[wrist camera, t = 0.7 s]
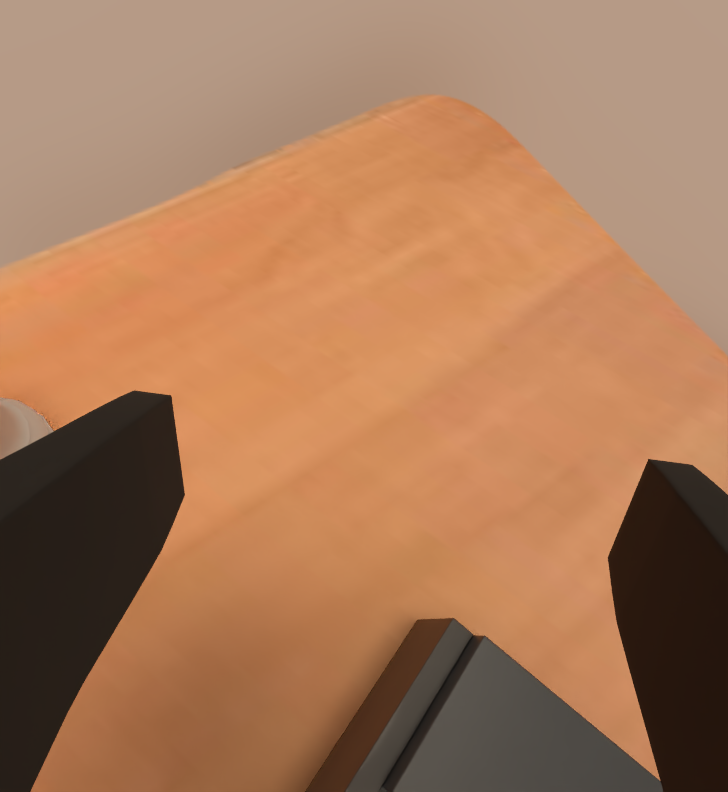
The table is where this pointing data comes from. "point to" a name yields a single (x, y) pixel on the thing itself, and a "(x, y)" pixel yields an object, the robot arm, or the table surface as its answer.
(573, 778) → the dark grey stepped block
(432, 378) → the table surface
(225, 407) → the table surface
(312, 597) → the table surface
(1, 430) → the rook chess piece
